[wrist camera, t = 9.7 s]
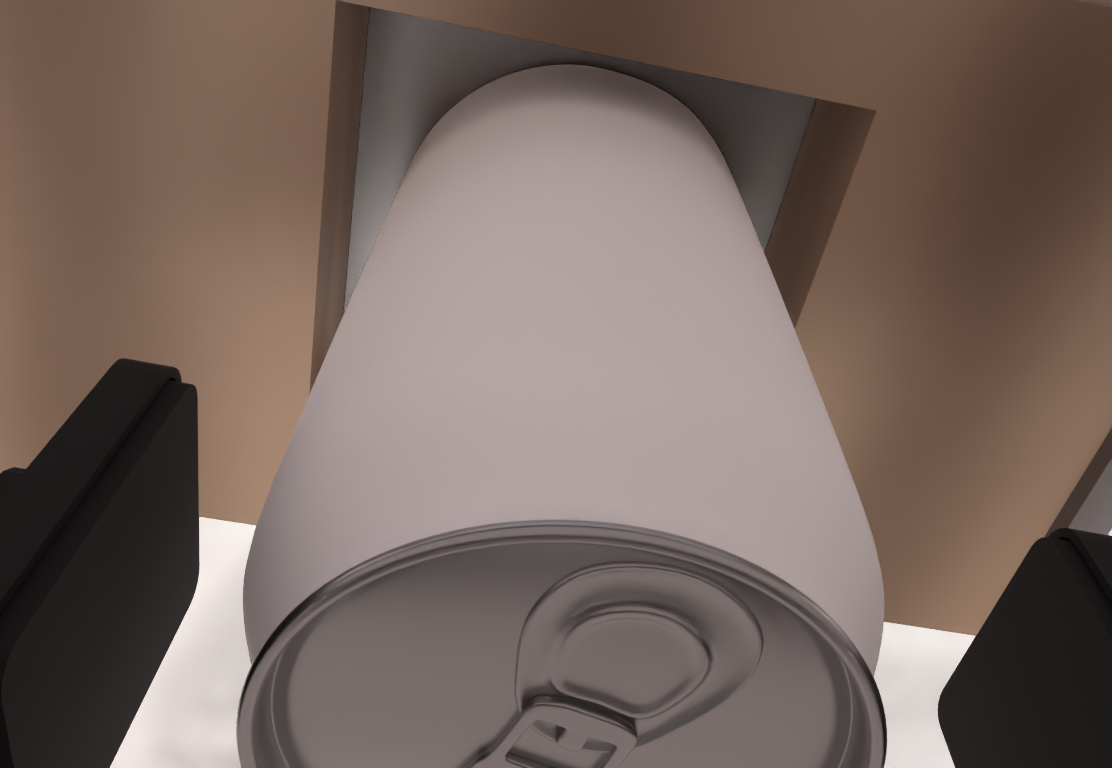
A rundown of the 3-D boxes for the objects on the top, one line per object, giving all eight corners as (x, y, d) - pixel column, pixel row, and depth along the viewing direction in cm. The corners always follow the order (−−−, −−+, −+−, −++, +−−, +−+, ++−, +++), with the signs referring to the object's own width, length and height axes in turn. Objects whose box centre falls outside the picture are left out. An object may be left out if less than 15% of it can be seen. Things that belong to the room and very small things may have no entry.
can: (804, 156, 18) (1116, 669, 7) (633, 414, 21) (689, 1022, 11) (484, -12, 16) (331, 341, 6) (352, 293, 19) (105, 863, 9)
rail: (1261, 24, 16) (1410, 76, 13) (968, 545, 23) (1026, 656, 20) (-83, -274, 14) (-247, -289, 11) (6, 389, 21) (-85, 488, 18)
